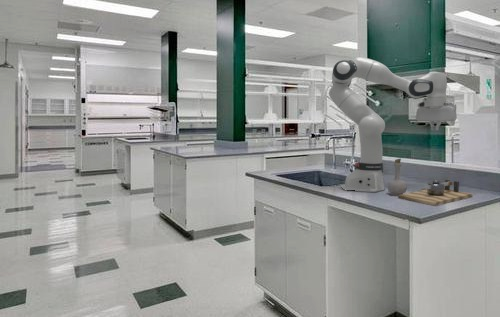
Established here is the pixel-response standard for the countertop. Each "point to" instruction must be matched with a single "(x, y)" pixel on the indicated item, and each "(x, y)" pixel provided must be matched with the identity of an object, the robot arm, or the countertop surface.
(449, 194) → the stand
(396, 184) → the potion bottle
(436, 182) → the capstan
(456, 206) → the countertop surface
